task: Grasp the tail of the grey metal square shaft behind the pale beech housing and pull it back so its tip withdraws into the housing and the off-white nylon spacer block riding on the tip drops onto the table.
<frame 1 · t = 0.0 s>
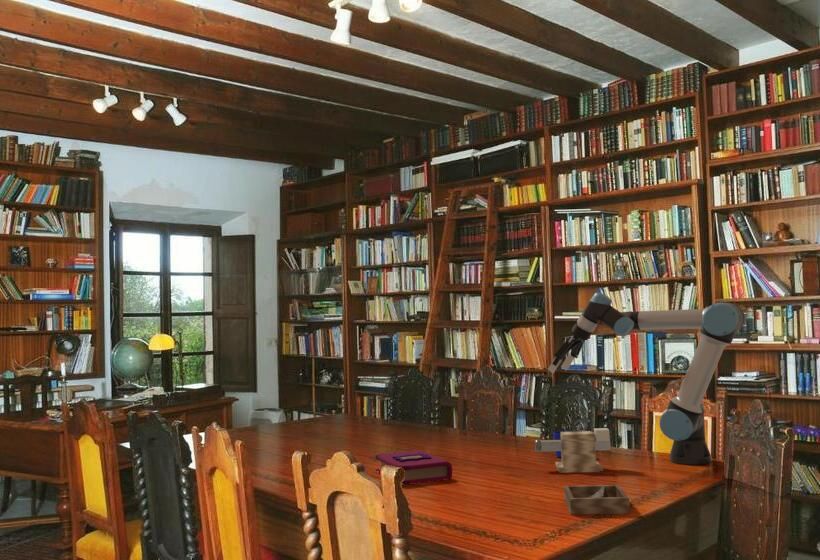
hand: (557, 370, 306), 36 cm above the table, tool tilted 35°, fingers open, 13 cm apart
rock sample: (595, 507, 226), on the table
shaft: (572, 445, 283), point 9 cm above the table, slide at 0.0 cm, touching spacer
mug: (568, 457, 307), on the table
book: (412, 477, 282), on the table
housing: (578, 468, 283), on the table
wooden tray: (596, 506, 226), on the table
spacer: (602, 439, 282), point 11 cm above the table, touching shaft
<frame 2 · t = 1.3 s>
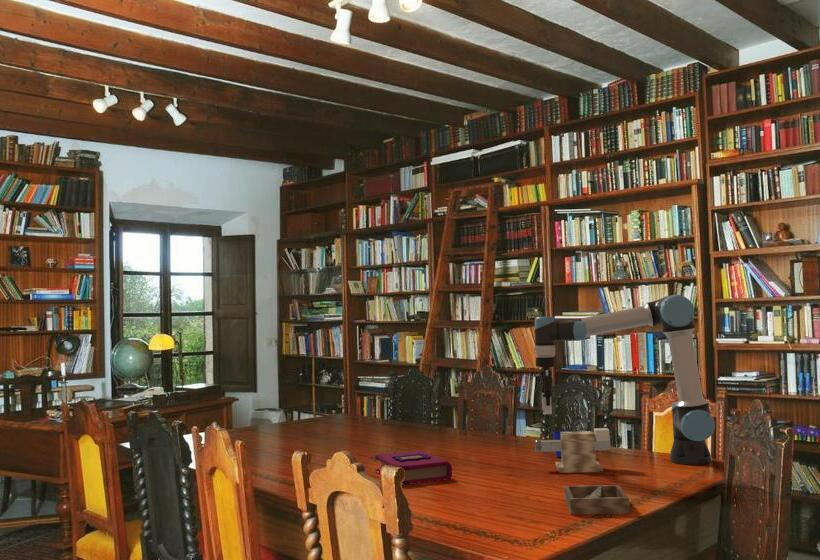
hand: (546, 411, 286), 22 cm above the table, tool pointing down, fingers open, 13 cm apart
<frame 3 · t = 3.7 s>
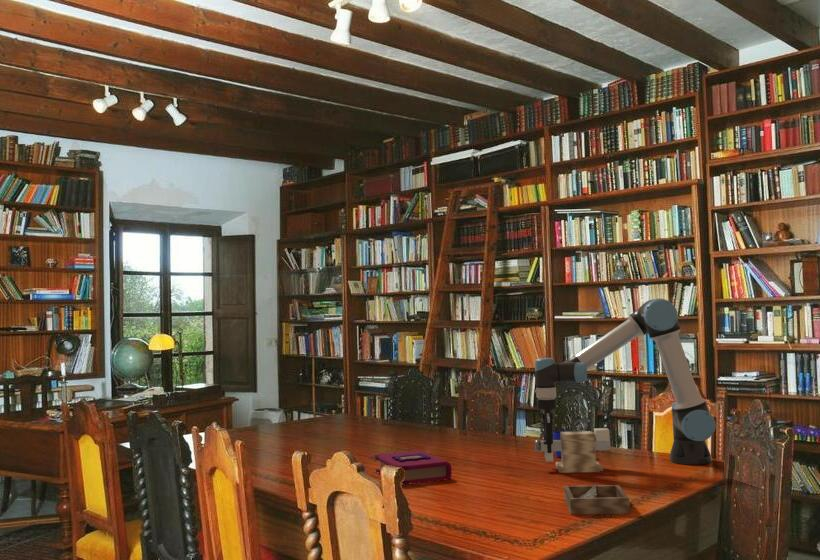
hand: (549, 459, 284), 3 cm above the table, tool pointing down, fingers closed on shaft, 4 cm apart
rock sample: (587, 506, 228), on the table
shaft: (572, 445, 283), point 9 cm above the table, slide at 0.0 cm, touching gripper, spacer
everything else where it was.
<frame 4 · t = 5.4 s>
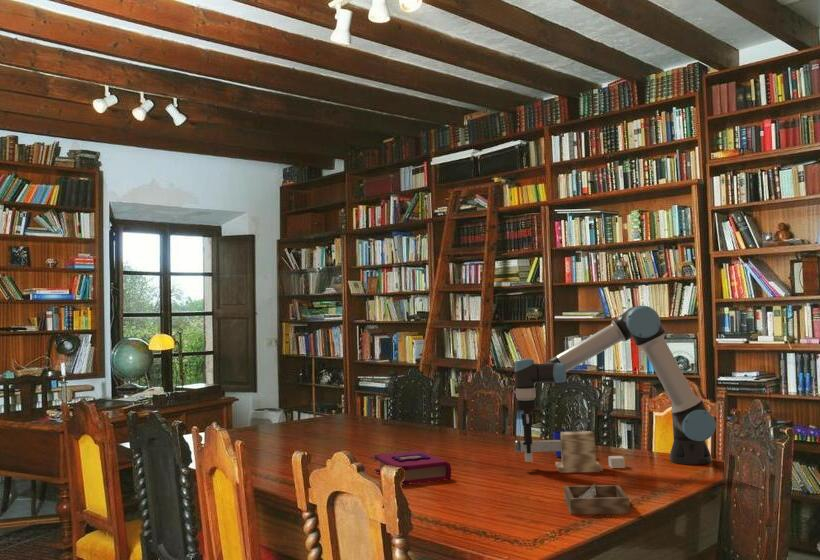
hand: (528, 460, 285), 3 cm above the table, tool pointing down, fingers closed on shaft, 4 cm apart
shaft: (552, 445, 284), point 9 cm above the table, slide at 7.7 cm, touching gripper
spacer: (616, 457, 282), point 4 cm above the table, tilted 180°
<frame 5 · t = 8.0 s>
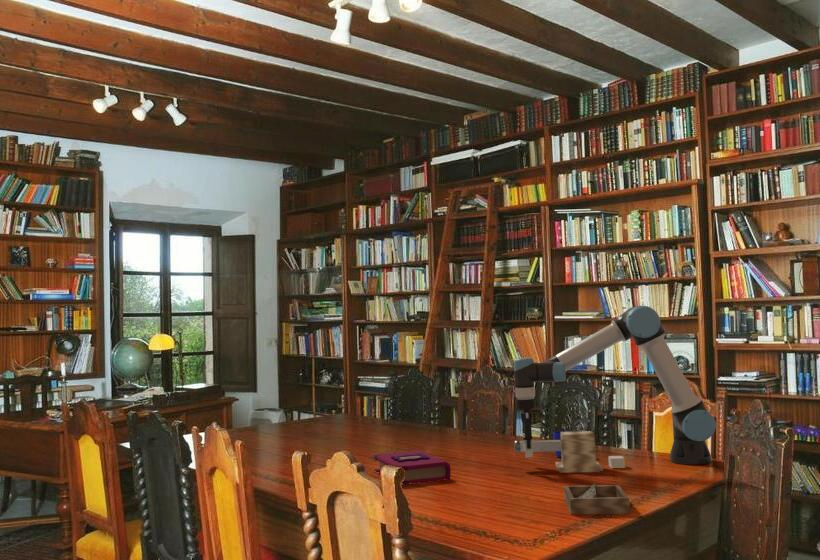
hand: (528, 453, 285), 6 cm above the table, tool pointing down, fingers open, 13 cm apart
shaft: (551, 445, 284), point 9 cm above the table, slide at 7.9 cm
everything else where it was.
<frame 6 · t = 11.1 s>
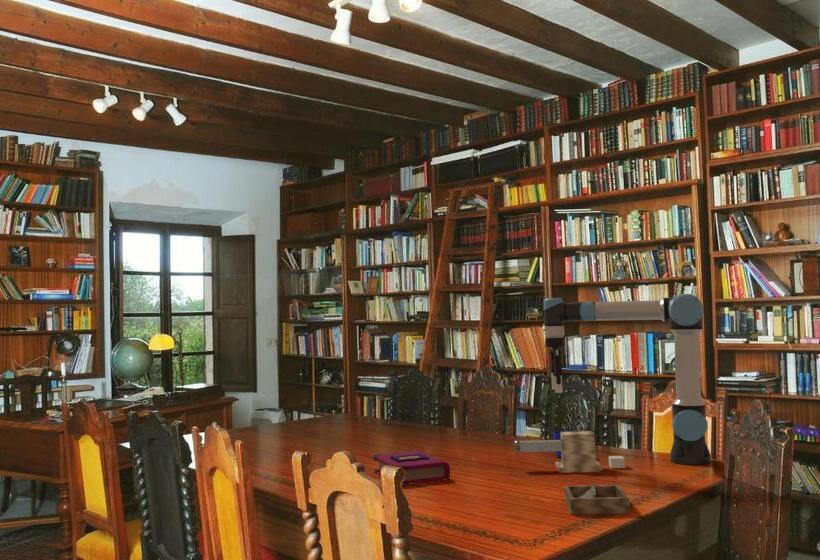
hand: (557, 391, 293), 29 cm above the table, tool pointing down, fingers open, 13 cm apart
nothing on the table moved.
at the end: shaft slide at 7.9 cm; spacer inside the target area (2.9 cm from its centre), point 3.8 cm above the table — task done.
